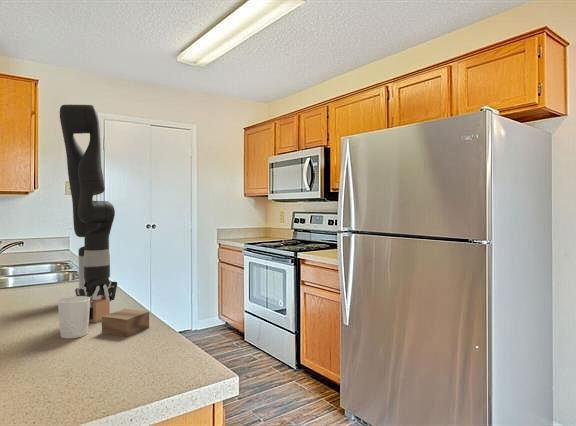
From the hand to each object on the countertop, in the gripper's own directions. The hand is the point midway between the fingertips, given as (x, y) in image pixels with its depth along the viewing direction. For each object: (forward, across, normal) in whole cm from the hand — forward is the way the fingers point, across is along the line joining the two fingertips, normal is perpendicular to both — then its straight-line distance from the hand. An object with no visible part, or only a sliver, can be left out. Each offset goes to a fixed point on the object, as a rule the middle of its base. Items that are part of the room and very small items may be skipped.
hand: (97, 316), depth 125 cm
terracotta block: (+1, 0, 0) cm, 1 cm away
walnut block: (+1, +4, +17) cm, 17 cm away
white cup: (+1, +13, +7) cm, 15 cm away
